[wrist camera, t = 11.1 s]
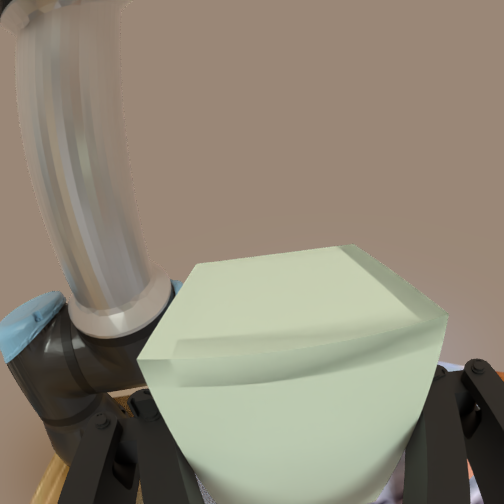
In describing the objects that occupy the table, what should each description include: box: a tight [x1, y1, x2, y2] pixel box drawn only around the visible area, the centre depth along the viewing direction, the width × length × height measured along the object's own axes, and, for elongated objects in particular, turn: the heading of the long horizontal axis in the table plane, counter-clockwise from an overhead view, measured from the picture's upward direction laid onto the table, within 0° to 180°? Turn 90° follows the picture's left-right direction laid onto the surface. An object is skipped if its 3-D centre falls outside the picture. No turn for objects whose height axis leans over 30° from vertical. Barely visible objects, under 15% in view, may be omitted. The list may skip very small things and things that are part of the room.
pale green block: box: [137, 244, 449, 504], centre depth 10 cm, size 7×7×11 cm
